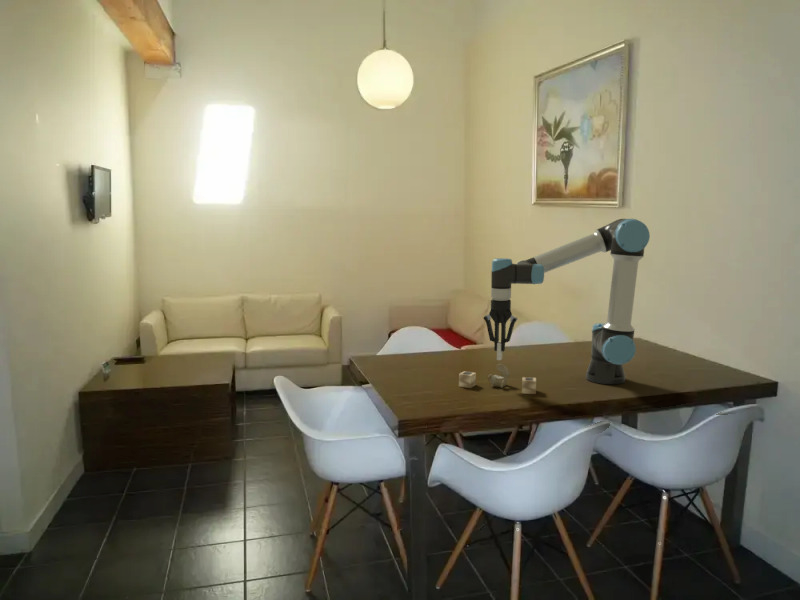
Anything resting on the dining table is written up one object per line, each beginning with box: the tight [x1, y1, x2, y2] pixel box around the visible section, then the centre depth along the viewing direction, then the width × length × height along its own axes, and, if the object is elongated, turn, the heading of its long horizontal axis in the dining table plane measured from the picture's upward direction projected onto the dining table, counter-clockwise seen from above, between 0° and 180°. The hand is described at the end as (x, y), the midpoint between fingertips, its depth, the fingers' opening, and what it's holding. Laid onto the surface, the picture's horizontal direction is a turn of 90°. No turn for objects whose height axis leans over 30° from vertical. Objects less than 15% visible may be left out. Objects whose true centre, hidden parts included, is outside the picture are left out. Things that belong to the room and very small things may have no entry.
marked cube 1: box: [458, 370, 477, 389], centre depth 243 cm, size 5×5×5 cm
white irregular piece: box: [487, 363, 510, 389], centre depth 242 cm, size 9×6×10 cm
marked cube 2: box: [521, 376, 537, 395], centre depth 235 cm, size 5×5×5 cm
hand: (499, 359), depth 241 cm, fingers closed
